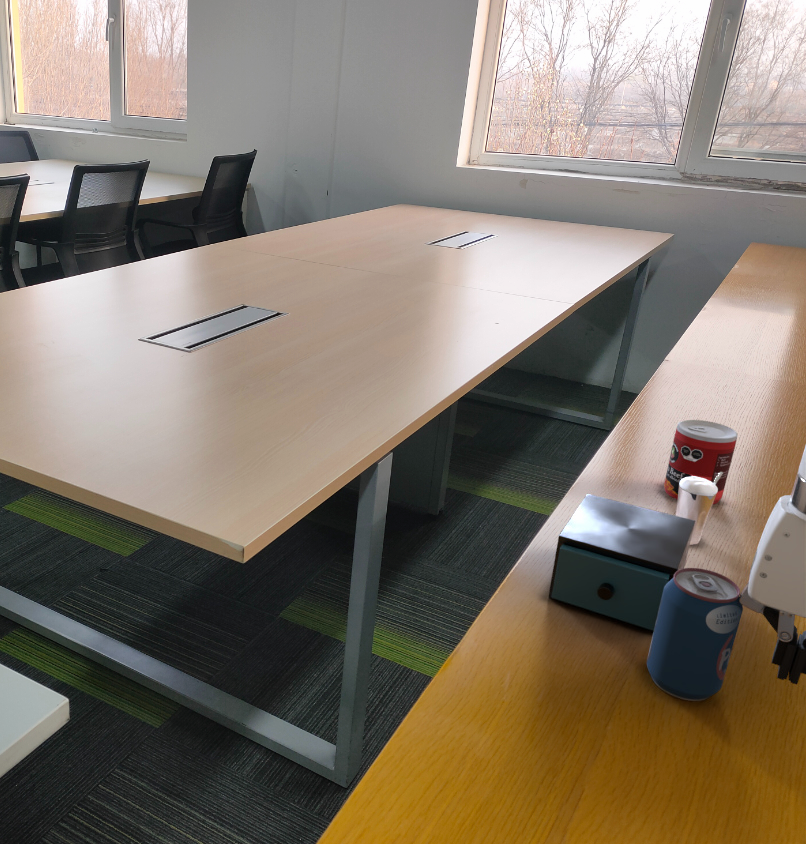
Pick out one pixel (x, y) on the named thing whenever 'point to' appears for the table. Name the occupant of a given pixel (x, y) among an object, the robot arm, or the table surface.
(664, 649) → the soda can
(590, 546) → the cabinet
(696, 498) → the milkshake
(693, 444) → the canned food
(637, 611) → the drawer
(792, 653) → the robot arm
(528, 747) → the table surface
